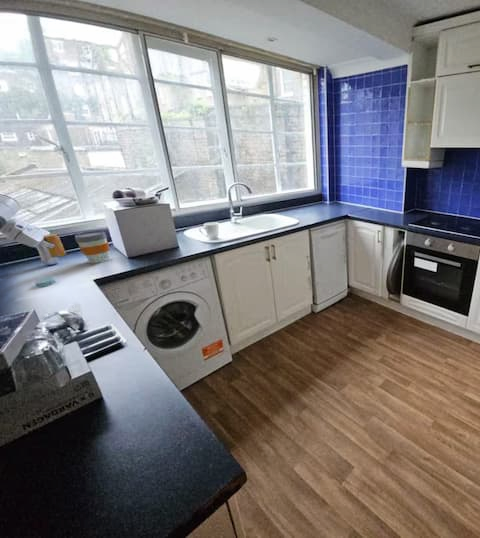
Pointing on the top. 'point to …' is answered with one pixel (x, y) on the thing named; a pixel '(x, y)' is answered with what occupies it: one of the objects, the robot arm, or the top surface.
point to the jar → (55, 245)
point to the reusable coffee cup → (94, 246)
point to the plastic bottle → (46, 256)
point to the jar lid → (44, 282)
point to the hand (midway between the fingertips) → (55, 245)
